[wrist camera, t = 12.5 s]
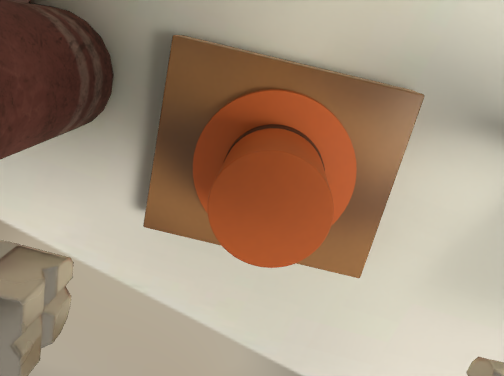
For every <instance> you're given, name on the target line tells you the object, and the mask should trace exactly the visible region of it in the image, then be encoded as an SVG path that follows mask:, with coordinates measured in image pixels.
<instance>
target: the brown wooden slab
mask: <svg viewBox="0 0 504 376" xmlns="http://www.w3.org/2000/svg"><path fill="white" fill-rule="evenodd" d="M267 89H283V90H289V91H294V92H298V93H301V94H304V95H306V96H309V97H311V98H313V99H315V100H316V101H318V102H320V103H321V104H323V105H324V106H325V107H326V108H328V109H329V110H330V111H331V112H332V113H333V114H334V115H335V116H336V117H337V118H338V120H339V121H340V122H341V124H342V125H343V127H344V128H345V130H346V131H347V133H348V135H349V137H350V139H351V142H352V145H353V148H354V151H355V157H356V167H357V174H356V183H355V187H354V191H353V194H352V196H351V199H350V201H349V203H348V205H347V207H346V209H345V210H344V212H343V213H342V215H341V216H340V217H339V219H338V220H337V221H336V222H335V223H334V224H333V225H332V226H331V228H330V231H329V233H328V235H327V237H326V238H325V240H324V241H323V243H322V244H321V245H320V247H319V248H318V249H317V250H316V251H315V252H313V253H312V254H311V255H310V256H308V257H307V258H305V259H303V260H302V261H299V262H297V264H301V265H306V266H310V267H314V268H318V269H322V270H327V271H331V272H335V273H339V274H343V275H348V276H352V277H356V278H360V276H361V274H362V271H363V268H364V265H365V262H366V260H367V257H368V254H369V251H370V248H371V245H372V243H373V240H374V237H375V234H376V231H377V229H378V226H379V223H380V220H381V217H382V214H383V212H384V209H385V206H386V203H387V200H388V198H389V195H390V192H391V189H392V186H393V183H394V181H395V178H396V175H397V172H398V169H399V167H400V164H401V161H402V158H403V155H404V152H405V150H406V147H407V144H408V141H409V138H410V136H411V133H412V130H413V127H414V124H415V121H416V119H417V116H418V113H419V110H420V107H421V105H422V102H423V99H424V95H423V94H421V93H418V92H416V91H413V90H409V89H405V88H401V87H397V86H393V85H389V84H384V83H380V82H376V81H372V80H368V79H363V78H359V77H355V76H351V75H347V74H343V73H338V72H334V71H330V70H326V69H322V68H317V67H313V66H309V65H305V64H301V63H297V62H292V61H288V60H284V59H280V58H276V57H271V56H267V55H263V54H259V53H255V52H251V51H246V50H242V49H238V48H234V47H230V46H226V45H221V44H217V43H213V42H209V41H205V40H200V39H196V38H192V37H188V36H184V35H173V37H172V44H171V50H170V57H169V63H168V70H167V76H166V83H165V89H164V96H163V102H162V108H161V115H160V121H159V128H158V134H157V141H156V147H155V154H154V160H153V167H152V173H151V180H150V186H149V193H148V199H147V206H146V212H145V218H144V225H143V226H144V227H146V228H150V229H155V230H159V231H163V232H167V233H171V234H176V235H180V236H184V237H188V238H192V239H197V240H201V241H205V242H209V243H213V244H218V245H221V244H220V242H219V241H218V240H217V238H216V237H215V235H214V233H213V231H212V229H211V226H210V223H209V219H208V214H207V212H206V211H205V209H204V207H203V206H202V204H201V202H200V200H199V197H198V195H197V192H196V189H195V185H194V179H193V157H194V152H195V148H196V144H197V142H198V139H199V137H200V135H201V133H202V131H203V130H204V128H205V126H206V125H207V123H208V122H209V121H210V120H211V118H212V117H213V116H214V115H215V114H216V113H217V112H218V111H219V110H220V109H221V108H223V107H224V106H225V105H227V104H228V103H229V102H231V101H233V100H234V99H236V98H238V97H240V96H243V95H245V94H248V93H251V92H255V91H259V90H267Z"/></svg>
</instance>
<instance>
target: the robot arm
mask: <svg viewBox="0 0 504 376" xmlns="http://www.w3.org/2000/svg"><path fill="white" fill-rule="evenodd" d="M73 264H74V262H73V261H72V259H71V258H70V257H66V256H62V255H59V254H55V253H51V252H47V251H43V250H40V249H36V248H32V247H28V246H24V245H20V244H17V243H12V242H8V241H4V240H0V376H28V375H29V373H30V372H31V371H32V370H33V368H34V367H35V366H36V364H37V363H38V362H39V361H40V352H41V348H43V347H45V346H47V345H50V344H52V343H53V342H54V341H55V339H56V338H57V337H58V335H59V334H60V333H61V330H62V328H63V326H64V324H65V322H66V319H67V317H68V313H69V309H70V303H71V295H70V293H69V291H68V290H67V288H66V285H67V283H68V282H69V281H70V280H71V279H72V278H73V266H74V265H73ZM467 375H468V376H504V362H499V361H495V360H491V359H486V358H482V357H478V358H476V359H475V360H474V361H473V362H472V363H471V365H470V367H469V369H468V370H467Z"/></svg>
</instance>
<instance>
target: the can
mask: <svg viewBox="0 0 504 376" xmlns="http://www.w3.org/2000/svg"><path fill="white" fill-rule="evenodd" d="M112 83H113V70H112V65H111V59H110V55H109V53H108V51H107V49H106V47H105V45H104V43H103V41H102V39H101V37H100V36H99V35H98V34H97V33H96V31H95V30H94V29H93V28H92V27H91V26H90V25H89V24H88V23H87V22H86V21H85V20H83V19H81V18H80V17H78V16H77V15H75V14H73V13H72V12H70V11H67V10H63V9H59V8H55V7H51V6H44V5H38V4H31V3H24V2H18V1H11V0H0V159H2V158H5V157H7V156H10V155H12V154H15V153H17V152H20V151H22V150H24V149H27V148H29V147H32V146H34V145H37V144H39V143H42V142H44V141H46V140H49V139H51V138H54V137H56V136H59V135H61V134H64V133H66V132H68V131H71V130H73V129H76V128H78V127H80V126H83V125H85V124H87V123H89V122H91V121H93V120H94V119H95V118H96V117H97V116H98V115H99V114H100V113H101V112H102V111H103V110H104V108H105V106H106V104H107V102H108V100H109V97H110V95H111V92H112Z"/></svg>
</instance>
